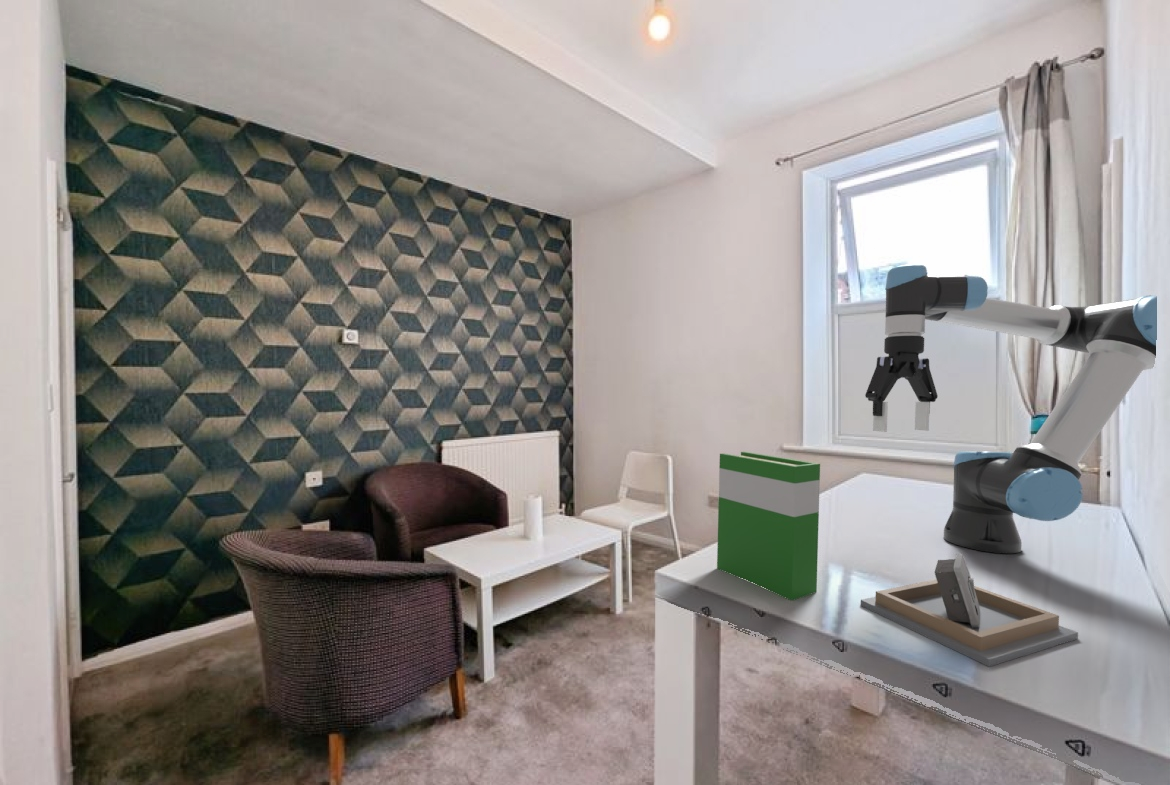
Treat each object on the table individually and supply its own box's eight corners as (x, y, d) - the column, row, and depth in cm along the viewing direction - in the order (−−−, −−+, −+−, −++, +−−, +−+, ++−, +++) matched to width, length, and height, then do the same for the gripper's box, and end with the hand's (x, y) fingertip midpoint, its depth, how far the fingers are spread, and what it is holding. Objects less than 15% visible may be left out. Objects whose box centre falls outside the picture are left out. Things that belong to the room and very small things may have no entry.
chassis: (943, 588, 95) (943, 572, 95) (1077, 638, 77) (1078, 619, 77) (860, 605, 87) (861, 588, 87) (989, 666, 69) (989, 645, 68)
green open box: (717, 568, 104) (719, 453, 103) (741, 562, 107) (743, 451, 107) (791, 600, 89) (795, 466, 88) (816, 592, 92) (820, 463, 92)
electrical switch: (979, 631, 77) (973, 570, 77) (938, 623, 80) (933, 565, 80) (980, 610, 84) (975, 554, 84) (942, 604, 87) (938, 550, 88)
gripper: (924, 340, 119) (921, 428, 120) (849, 334, 110) (846, 430, 110) (958, 337, 112) (955, 431, 113) (880, 331, 103) (877, 433, 103)
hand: (901, 430), depth 112 cm, fingers open, 13 cm apart
